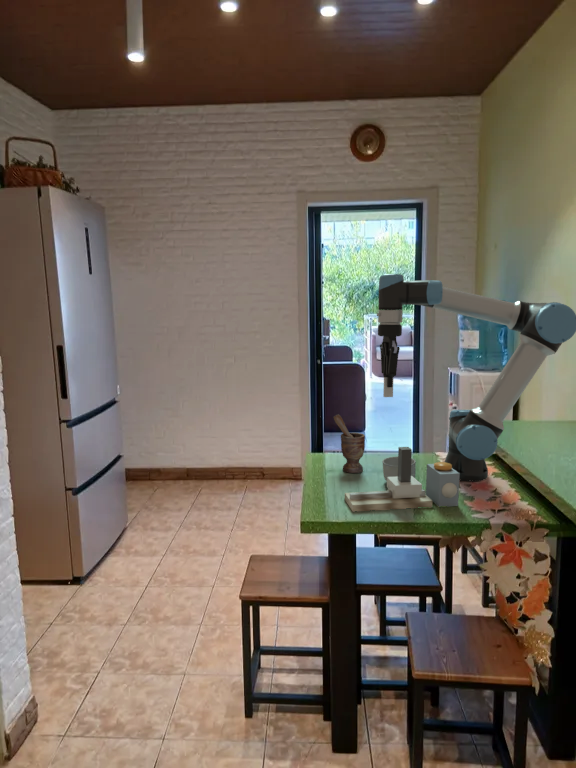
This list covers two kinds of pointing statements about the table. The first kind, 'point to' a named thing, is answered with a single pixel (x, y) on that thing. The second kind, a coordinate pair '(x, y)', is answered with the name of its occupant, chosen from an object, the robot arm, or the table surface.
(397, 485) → the carriage
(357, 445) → the mortar and pestle
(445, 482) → the blue-grey button box
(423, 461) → the table surface
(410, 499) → the rail board
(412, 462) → the teacup
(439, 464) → the button
